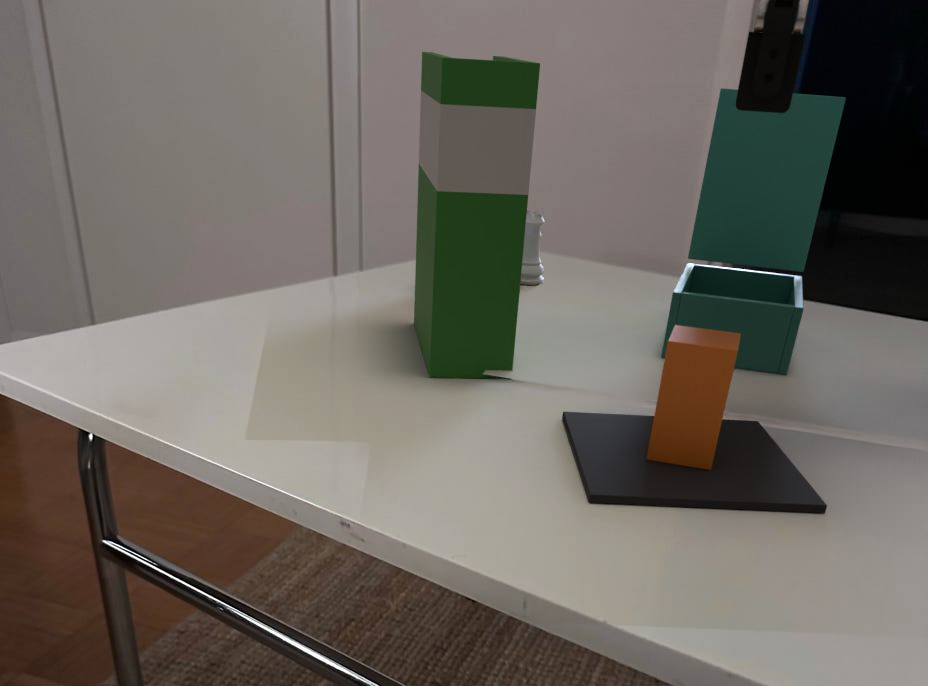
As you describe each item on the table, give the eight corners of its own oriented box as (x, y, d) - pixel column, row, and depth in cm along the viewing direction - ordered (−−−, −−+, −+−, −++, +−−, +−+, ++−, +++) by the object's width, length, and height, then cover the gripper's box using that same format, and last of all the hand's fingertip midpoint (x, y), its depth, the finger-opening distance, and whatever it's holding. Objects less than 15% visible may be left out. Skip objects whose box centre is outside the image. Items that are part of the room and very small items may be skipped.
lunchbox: (784, 383, 86) (804, 308, 82) (659, 365, 88) (672, 292, 84) (785, 343, 97) (802, 276, 94) (674, 329, 100) (687, 262, 96)
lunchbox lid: (846, 97, 87) (845, 98, 87) (720, 88, 89) (721, 89, 90) (803, 272, 93) (803, 271, 94) (687, 258, 96) (688, 258, 96)
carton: (710, 470, 65) (737, 350, 61) (646, 459, 66) (668, 340, 62) (715, 448, 69) (740, 333, 64) (653, 438, 70) (674, 324, 65)
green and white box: (413, 323, 96) (422, 51, 83) (483, 325, 97) (503, 56, 84) (429, 377, 81) (442, 57, 68) (511, 378, 82) (540, 63, 69)
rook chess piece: (504, 277, 117) (510, 208, 112) (538, 277, 118) (545, 209, 113) (512, 285, 113) (519, 214, 109) (547, 285, 114) (555, 215, 110)
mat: (756, 427, 75) (758, 420, 75) (825, 513, 62) (827, 505, 61) (561, 418, 75) (562, 411, 74) (589, 502, 61) (590, 494, 61)
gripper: (930, -300, 43) (829, 120, 52) (886, -216, 57) (812, 103, 66) (764, -297, 44) (695, 111, 54) (761, -216, 58) (707, 97, 68)
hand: (760, 106), depth 60 cm, fingers open, 9 cm apart
